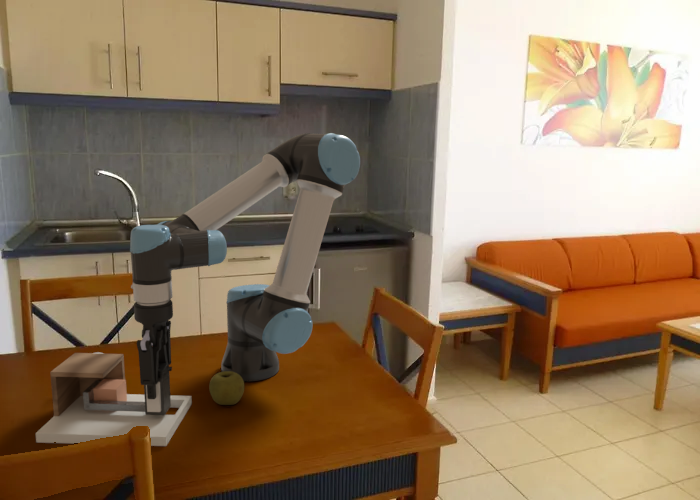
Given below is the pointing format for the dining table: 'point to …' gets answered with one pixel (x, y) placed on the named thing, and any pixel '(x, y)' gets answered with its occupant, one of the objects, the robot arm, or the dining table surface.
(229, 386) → the apple
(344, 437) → the dining table surface
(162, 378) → the grey u-shaped bracket
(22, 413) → the dining table surface
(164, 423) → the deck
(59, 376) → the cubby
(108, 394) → the cube
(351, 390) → the dining table surface
